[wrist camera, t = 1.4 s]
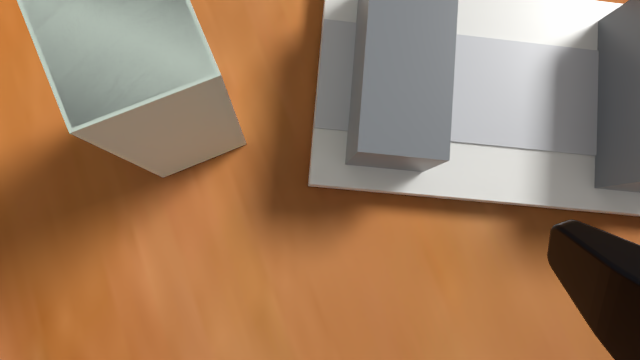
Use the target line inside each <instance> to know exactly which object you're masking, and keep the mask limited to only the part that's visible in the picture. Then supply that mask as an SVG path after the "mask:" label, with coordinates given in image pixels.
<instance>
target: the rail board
mask: <svg viewBox="0 0 640 360" xmlns="http://www.w3.org/2000/svg"><path fill="white" fill-rule="evenodd" d="M308 186H312V187H323V188H334V189H345V190H356V191H367V192H378V193H389V194H400V195H411V196H422V197H433V198H443V199H454V200H465V201H476V202H487V203H498V204H509V205H520V206H531V207H542V208H553V209H564V210H575V211H586V212H597V213H608V214H619V215H630V216H640V0H629V1H627V2H626V3H624V4H619V3H611V2H603V1H595V0H324V7H323V19H322V30H321V42H320V53H319V65H318V76H317V88H316V99H315V111H314V122H313V134H312V145H311V157H310V168H309V180H308Z"/></svg>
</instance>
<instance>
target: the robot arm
mask: <svg viewBox="0 0 640 360" xmlns="http://www.w3.org/2000/svg"><path fill="white" fill-rule="evenodd" d="M547 256H548V261H549V264H550V266H551V268H552V270H553V271H554V273H555V274H556V276H557V277H558V279H559V280H560V282H561V284H562V285H563V287H564V288H565V290H566V291H567V293H568V294H569V296H570V297H571V299H572V301H573V302H574V304H575V305H576V307H577V308H578V310H579V311H580V313H581V315H582V316H583V318H584V319H585V321H586V322H587V324H588V325H589V327H590V328H591V330H592V331H593V333H594V334H595V335H596V337H597V338H598V339H599V341H600V342H601V343H602V344H603V346H604V347H605V348H606V349H607V351H608V352H609V353H610V354H611V356H612V357H613V358H614V359H615V360H640V245H638V244H635V243H633V242H630V241H628V240H625V239H623V238H620V237H618V236H615V235H613V234H610V233H608V232H605V231H603V230H600V229H597V228H595V227H592V226H590V225H587V224H585V223H582V222H580V221H577V220H568V221H565V222H562V223H559V224H556V225H554V226H553V227H552V228H551V231H550V238H549V246H548V253H547Z"/></svg>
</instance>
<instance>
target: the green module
mask: <svg viewBox="0 0 640 360" xmlns="http://www.w3.org/2000/svg"><path fill="white" fill-rule="evenodd" d="M17 2H18V4H19V7H20V10H21V12H22V15H23V17H24V20H25V22H26V25H27V27H28V30H29V32H30V35H31V37H32V40H33V42H34V45H35V48H36V50H37V53H38V55H39V58H40V60H41V63H42V65H43V68H44V70H45V73H46V75H47V78H48V80H49V83H50V86H51V88H52V91H53V93H54V96H55V98H56V101H57V103H58V106H59V108H60V111H61V113H62V116H63V119H64V121H65V124H66V126H67V129H68V131H69V133H70V134H72V135H74V136H76V137H78V138H80V139H82V140H84V141H87V142H89V143H91V144H93V145H95V146H97V147H99V148H101V149H103V150H106V151H108V152H110V153H112V154H114V155H116V156H118V157H120V158H122V159H125V160H127V161H129V162H131V163H133V164H135V165H137V166H139V167H141V168H144V169H146V170H148V171H150V172H152V173H154V174H156V175H158V176H160V177H163V178H164V177H166V176H169V175H171V174H174V173H176V172H179V171H181V170H184V169H186V168H189V167H191V166H194V165H196V164H199V163H201V162H204V161H206V160H209V159H211V158H214V157H216V156H219V155H221V154H224V153H226V152H229V151H231V150H234V149H236V148H239V147H241V146H243V145H246V141H245V138H244V135H243V133H242V130H241V127H240V125H239V122H238V119H237V117H236V114H235V111H234V109H233V106H232V103H231V100H230V98H229V95H228V92H227V90H226V87H225V84H224V82H223V79H222V76H221V74H220V71H219V69H218V67H217V64H216V62H215V59H214V57H213V55H212V52H211V50H210V48H209V45H208V43H207V40H206V38H205V36H204V33H203V31H202V28H201V26H200V24H199V21H198V19H197V17H196V14H195V12H194V9H193V7H192V5H191V2H190V0H17Z"/></svg>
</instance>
